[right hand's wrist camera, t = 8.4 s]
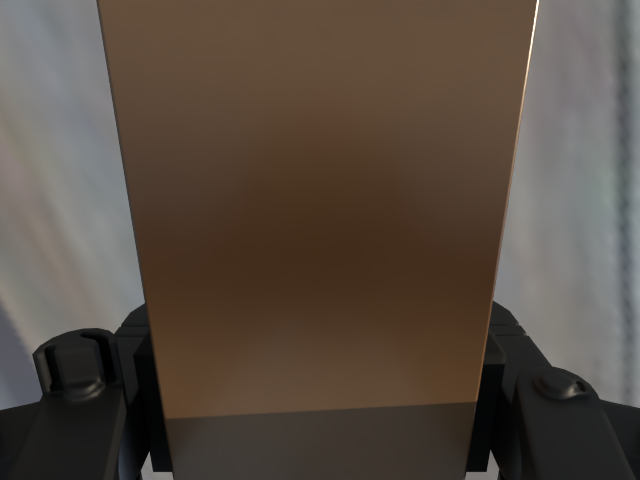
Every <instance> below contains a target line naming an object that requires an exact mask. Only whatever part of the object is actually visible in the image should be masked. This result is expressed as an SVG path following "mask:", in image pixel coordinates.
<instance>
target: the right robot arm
mask: <svg viewBox="0 0 640 480" xmlns="http://www.w3.org/2000/svg"><path fill="white" fill-rule="evenodd" d="M526 334H527V333H526V332H525V331H524V329H523V328H522V327H521V326H519V323H518V321H517V320H516V319H515V318H514V316H513V315H512V314H511V312H510V311H509V310H507V309H506V308H504V307H502V306H501V305H499V304H498V303H496V302H495V301H493V303H492V309H491V316H490V322H489V328H488V335H487V341H486V348H485V354H484V361H483V367H482V373H481V380H480V386H479V393H478V399H477V405H476V412H475V418H474V425H473V431H472V437H471V444H470V450H469V457H468V463H467V470H466V472H487V466H488V460H489V455H490V449H491V451H492V454H493V456H494V458H495V460H496V463H497V465H498V467H499V474H498V479H497V480H640V408H637V407H632V406H627V405H622V404H617V403H612V402H608V401H605V400H601V399H599V397H598V395H597V393H596V392H595V390H594V389H593V388H592V386H591V385H590V384H589V383H587V382H586V381H585V380H583V379H582V378H581V377H579V376H578V375H575V374H573V373H571V372H569V371H567V370H564V369H561V368H557V367H553V366H551V364H550V363H549V362H548V360H547V359H546V358H545V357H544V355H543V354H542V353H541V351H540V350H539V349H538V347H537V346H536V345H535V344H534V342H533V341H532V340H531V338H530V337H529V336H527V335H526ZM32 356H33V359H34V363H35V367H36V371H37V374H38V378H39V382H40V386H41V389H42V393H43V395H42V398H41V400H40V401H39V402H35V403H32V404H28V405H23V406H18V407H13V408H8V409H4V410H0V480H143V479H142V474H141V469H142V467H143V464H144V462H145V460H146V458H147V455H148V453H149V451H150V456H151V462H152V468H153V472H172V467H171V461H170V454H169V448H168V442H167V436H166V430H165V423H164V417H163V411H162V405H161V399H160V392H159V386H158V380H157V374H156V368H155V361H154V355H153V349H152V343H151V337H150V330H149V324H148V318H147V312H146V305H145V304H143V305H141V306H140V307H138V308H137V309H135V310H134V311H132V312H131V313H130V314H129V315H128V316H127V318H126V319H125V320H124V322H123V323H122V324H121V327H119V328H118V330H117V331H116V332H115V334H113V333H111V332H110V331H108V330H104V329H99V328H87V329H79V330H75V331H70V332H66V333H64V334H61V335H59V336H56V337H54V338H52V339H50V340H48V341H47V342H45V343H44V344H42V345H40V346H39V347H38V349H37V350H36V351H35V352H34V353H33V354H32Z"/></svg>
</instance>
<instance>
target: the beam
mask: <svg viewBox="0 0 640 480" xmlns="http://www.w3.org/2000/svg"><path fill="white" fill-rule="evenodd" d="M96 1H97V7H98V14H99V20H100V26H101V32H102V38H103V45H104V51H105V57H106V63H107V70H108V76H109V82H110V88H111V94H112V101H113V107H114V113H115V119H116V125H117V132H118V138H119V144H120V150H121V156H122V163H123V169H124V175H125V181H126V187H127V194H128V200H129V206H130V212H131V219H132V225H133V231H134V237H135V243H136V250H137V256H138V262H139V268H140V274H141V281H142V287H143V293H144V299H145V305H146V312H147V318H148V324H149V330H150V337H151V343H152V349H153V355H154V361H155V368H156V374H157V380H158V386H159V392H160V399H161V405H162V411H163V417H164V423H165V430H166V436H167V442H168V448H169V454H170V461H171V467H172V473H173V479H174V480H465V476H466V470H467V463H468V457H469V450H470V444H471V437H472V431H473V425H474V418H475V412H476V405H477V399H478V393H479V386H480V380H481V373H482V367H483V361H484V354H485V348H486V341H487V335H488V328H489V322H490V316H491V309H492V303H493V296H494V290H495V284H496V277H497V271H498V264H499V258H500V251H501V245H502V239H503V232H504V226H505V219H506V213H507V207H508V200H509V194H510V187H511V181H512V175H513V168H514V162H515V155H516V149H517V142H518V136H519V130H520V123H521V117H522V110H523V104H524V98H525V91H526V85H527V78H528V72H529V65H530V59H531V53H532V46H533V40H534V33H535V27H536V21H537V14H538V8H539V1H540V0H96Z"/></svg>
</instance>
